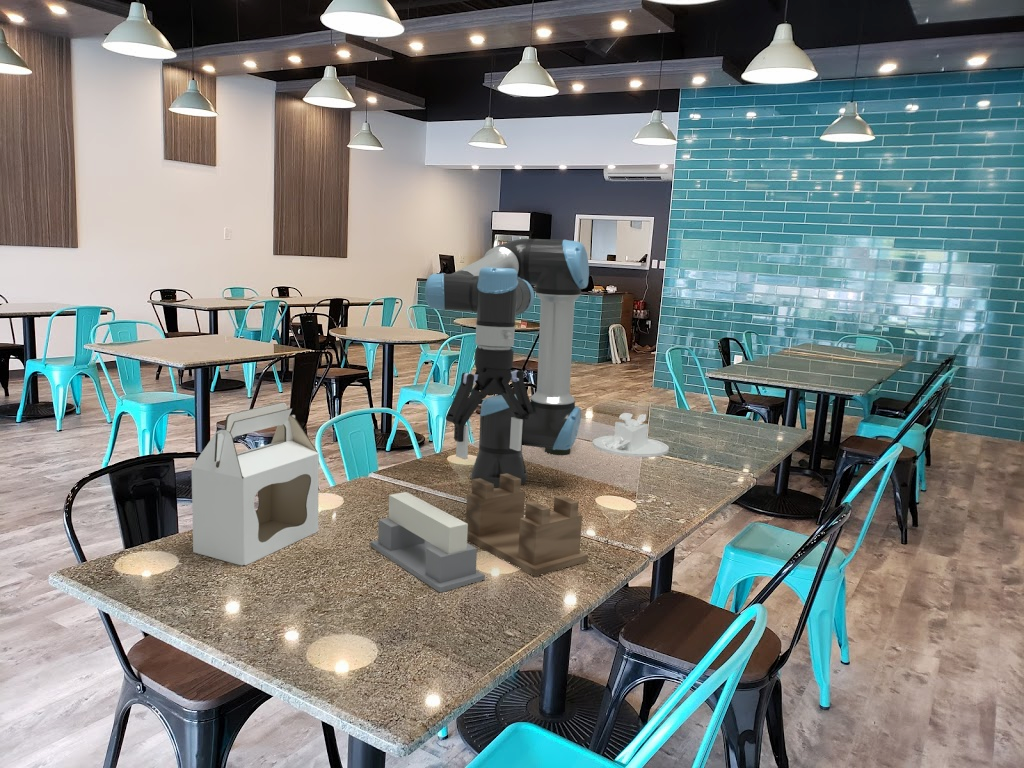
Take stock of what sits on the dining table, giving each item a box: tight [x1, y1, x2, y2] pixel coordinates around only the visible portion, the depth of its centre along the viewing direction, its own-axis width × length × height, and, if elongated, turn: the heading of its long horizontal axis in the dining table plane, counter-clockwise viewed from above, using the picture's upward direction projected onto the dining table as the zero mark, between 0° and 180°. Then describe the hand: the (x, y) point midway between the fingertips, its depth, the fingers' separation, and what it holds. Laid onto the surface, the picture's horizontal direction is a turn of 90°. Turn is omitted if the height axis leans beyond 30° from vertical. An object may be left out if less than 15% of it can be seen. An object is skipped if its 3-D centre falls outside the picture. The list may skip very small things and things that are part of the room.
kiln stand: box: [369, 517, 486, 593], centre depth 149 cm, size 26×10×6 cm, turn 39°
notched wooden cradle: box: [465, 473, 589, 577], centre depth 159 cm, size 26×14×12 cm, turn 39°
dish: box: [591, 412, 670, 458], centre depth 250 cm, size 25×25×11 cm
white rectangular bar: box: [388, 491, 468, 554], centre depth 148 cm, size 22×4×5 cm, turn 39°
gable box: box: [191, 401, 320, 567], centre depth 154 cm, size 22×13×28 cm, turn 155°
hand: (489, 453), depth 152 cm, fingers open, 13 cm apart
